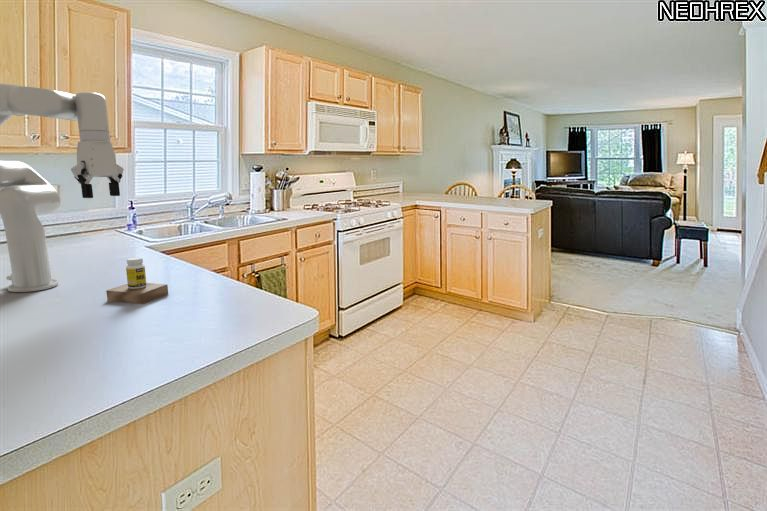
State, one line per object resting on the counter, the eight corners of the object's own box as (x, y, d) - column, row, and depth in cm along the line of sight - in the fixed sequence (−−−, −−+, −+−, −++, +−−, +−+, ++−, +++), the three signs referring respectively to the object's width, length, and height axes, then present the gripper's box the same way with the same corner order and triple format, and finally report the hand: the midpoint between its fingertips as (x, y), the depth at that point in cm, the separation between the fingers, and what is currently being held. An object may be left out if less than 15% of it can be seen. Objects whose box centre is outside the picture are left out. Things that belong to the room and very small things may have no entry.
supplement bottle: (138, 289, 130) (135, 260, 128) (124, 288, 131) (120, 259, 129) (150, 285, 134) (147, 257, 133) (136, 284, 135) (133, 256, 134)
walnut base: (107, 300, 130) (106, 290, 129) (134, 291, 139) (133, 281, 139) (143, 303, 127) (142, 293, 126) (168, 294, 136) (167, 284, 136)
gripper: (108, 139, 143) (114, 194, 146) (57, 136, 126) (65, 198, 130) (128, 139, 141) (134, 195, 144) (79, 135, 125) (87, 199, 128)
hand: (102, 196), depth 137 cm, fingers open, 9 cm apart
